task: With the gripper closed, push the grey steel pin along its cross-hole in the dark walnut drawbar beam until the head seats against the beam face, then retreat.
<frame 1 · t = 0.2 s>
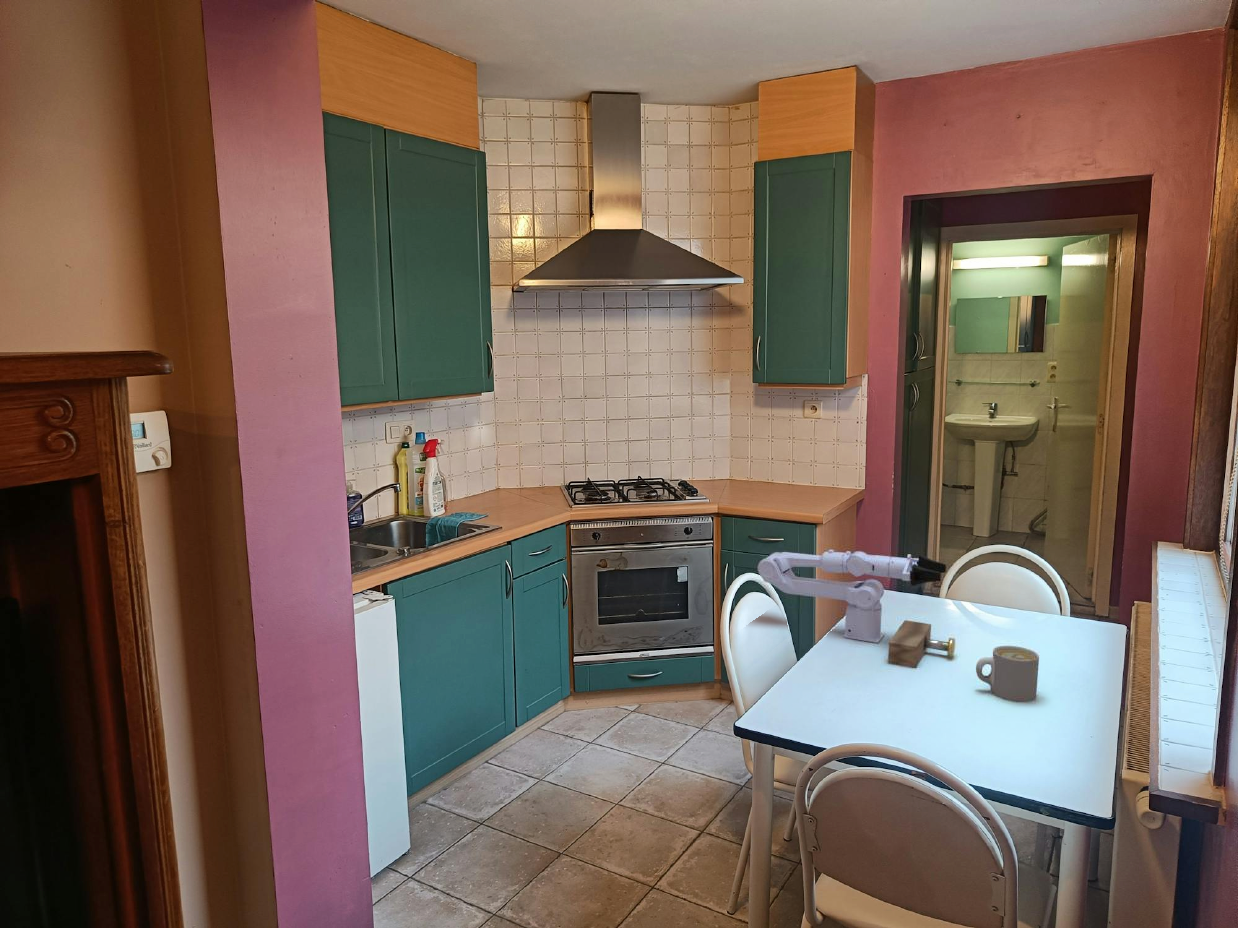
hand: (943, 572, 232), 21 cm above the table, tool horizontal, fingers open, 7 cm apart
drawbar beam: (909, 652, 232), on the table
coffee mug: (1005, 692, 207), on the table
steel pin: (935, 644, 230), point 3 cm above the table, slide at 0.0 cm
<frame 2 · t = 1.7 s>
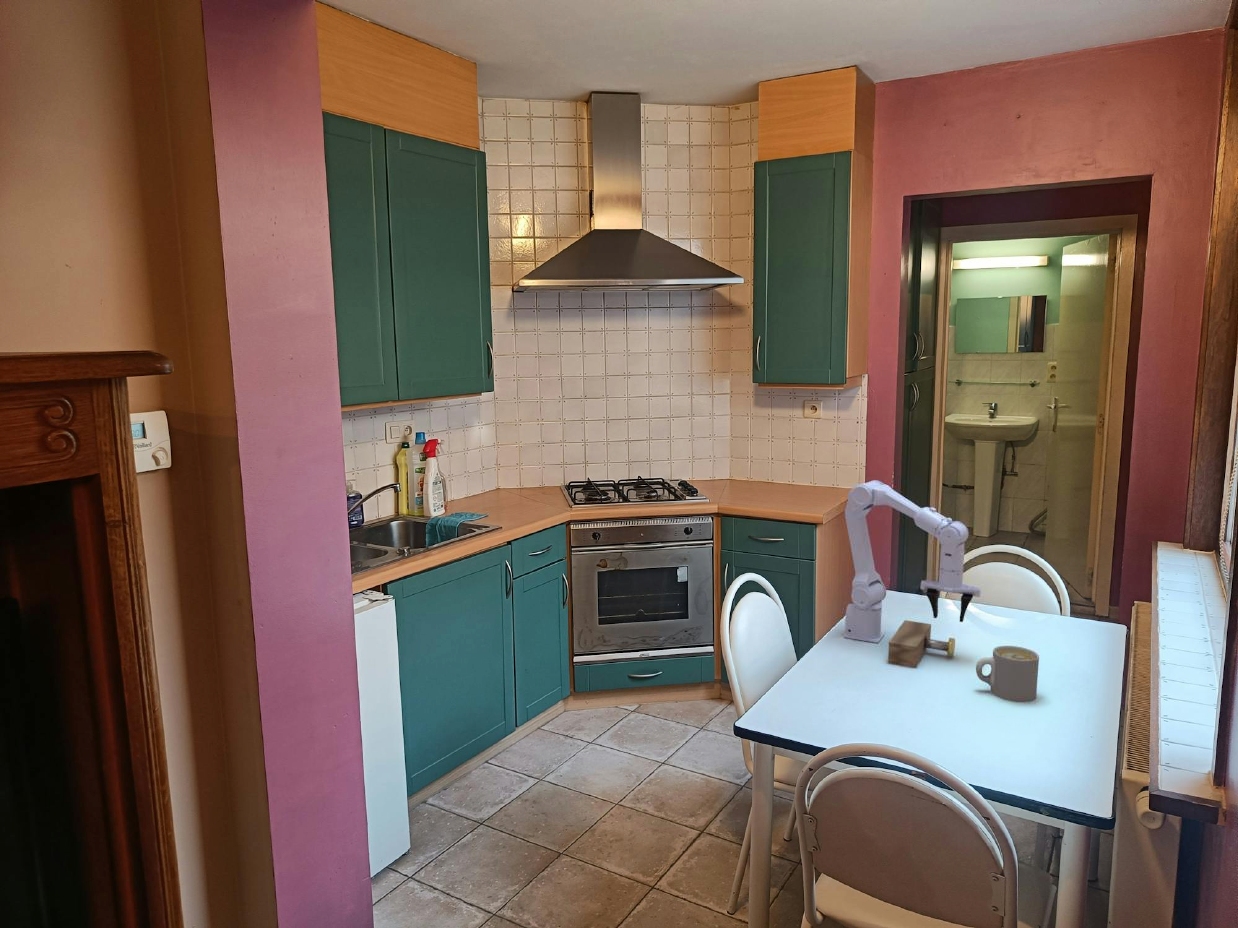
hand: (948, 618, 228), 10 cm above the table, tool pointing down, fingers open, 6 cm apart
nothing on the table moved.
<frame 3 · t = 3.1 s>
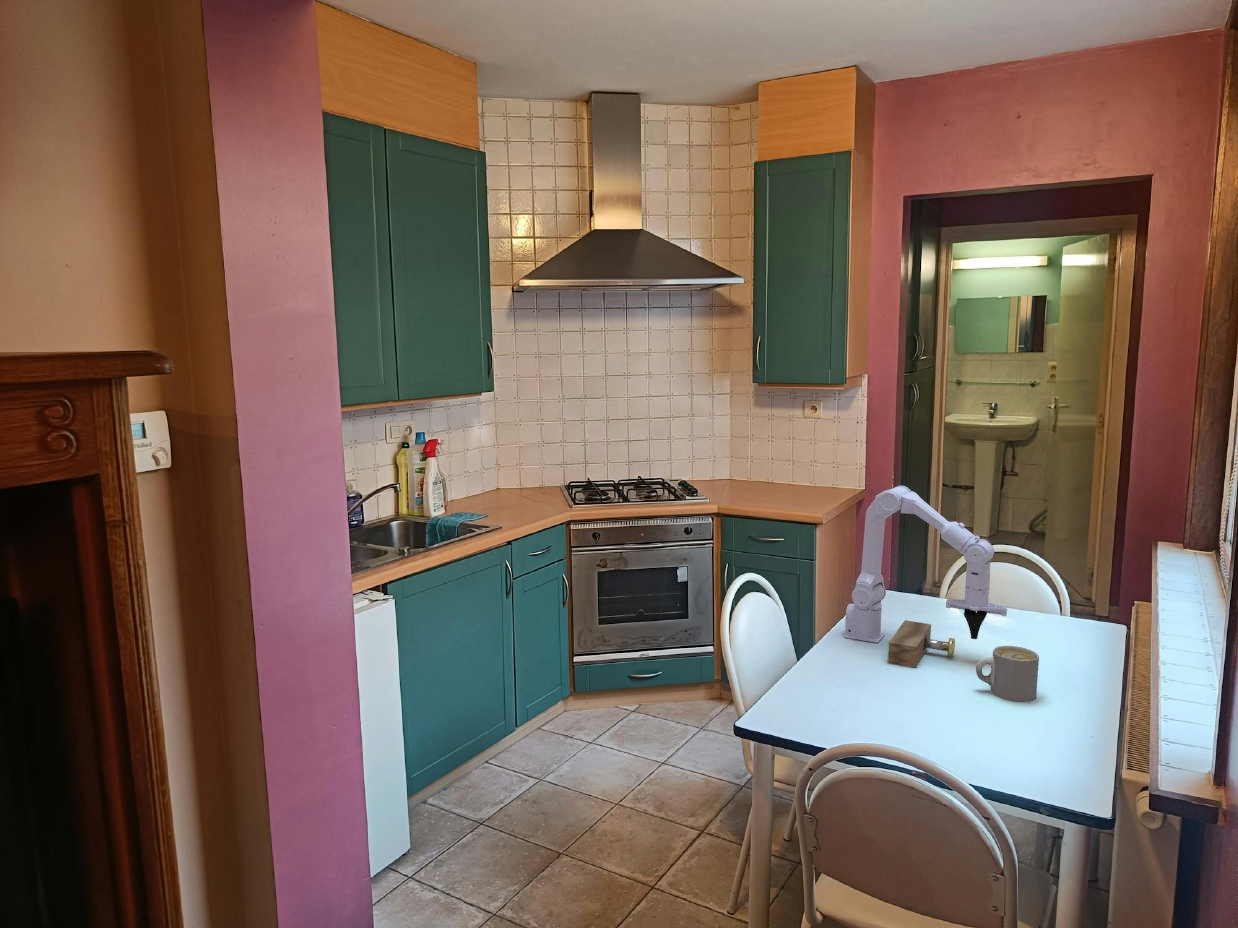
hand: (974, 637, 225), 6 cm above the table, tool pointing down, fingers closed
nothing on the table moved.
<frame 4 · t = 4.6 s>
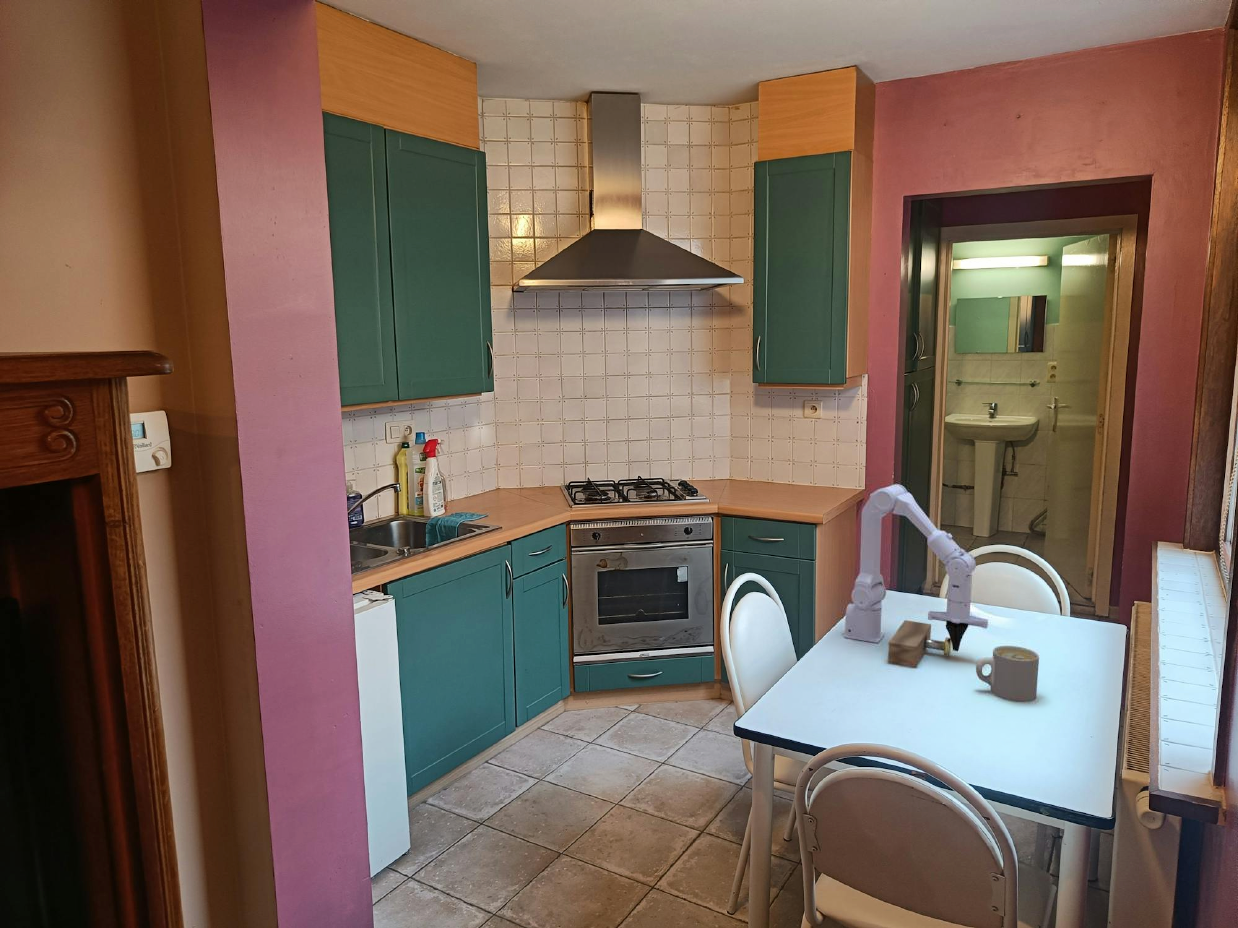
hand: (955, 649, 228), 2 cm above the table, tool pointing down, fingers closed
steel pin: (931, 644, 231), point 3 cm above the table, slide at 0.9 cm, touching gripper
everything else where it was.
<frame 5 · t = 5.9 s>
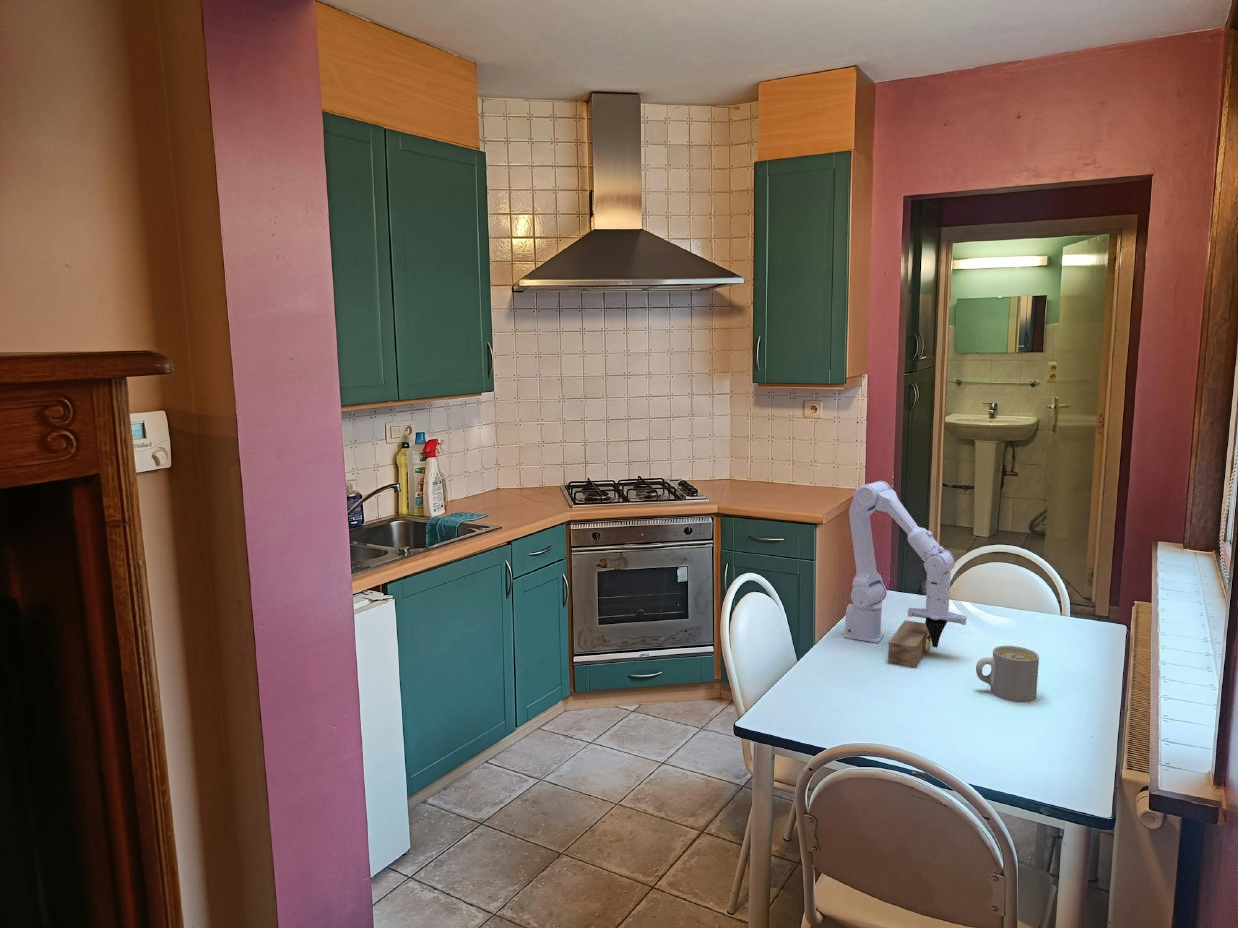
hand: (935, 645, 230), 2 cm above the table, tool pointing down, fingers closed
steel pin: (912, 640, 233), point 3 cm above the table, slide at 6.0 cm, touching drawbar beam, gripper
everything else where it was.
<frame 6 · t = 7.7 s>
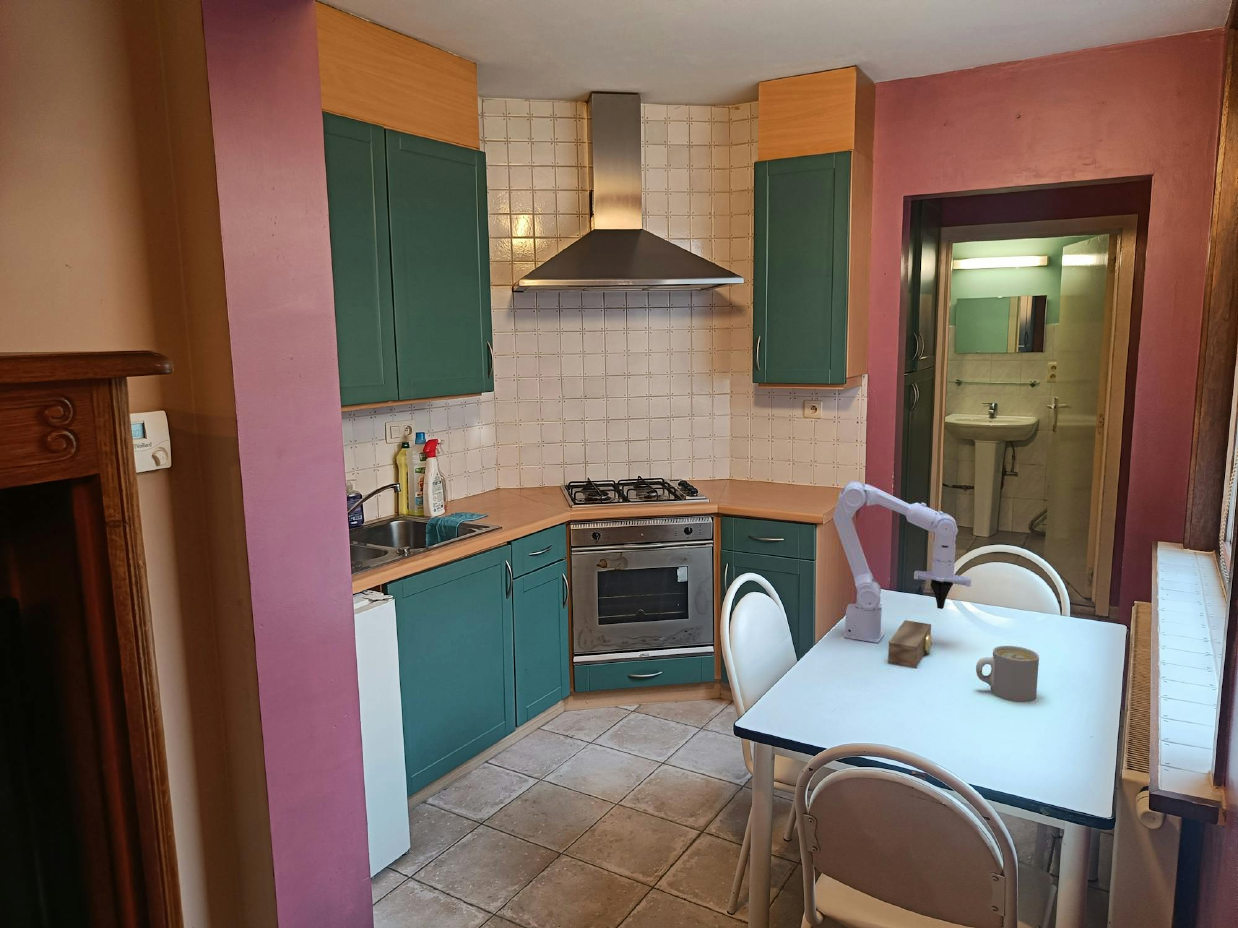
hand: (940, 607, 237), 10 cm above the table, tool pointing down, fingers closed
steel pin: (912, 640, 233), point 3 cm above the table, slide at 6.0 cm, touching drawbar beam
everything else where it was.
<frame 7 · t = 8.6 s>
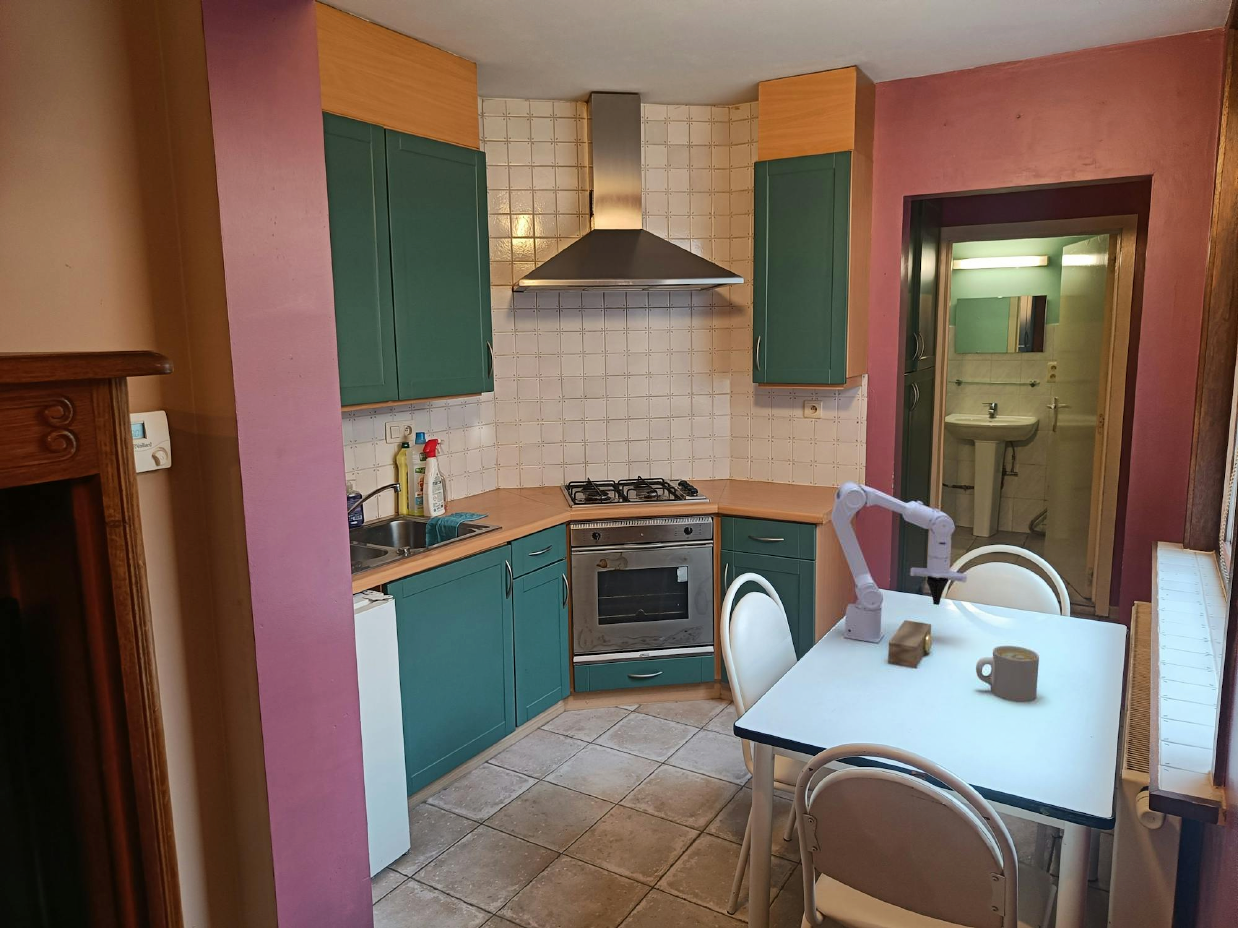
hand: (936, 603, 241), 10 cm above the table, tool pointing down, fingers closed
nothing on the table moved.
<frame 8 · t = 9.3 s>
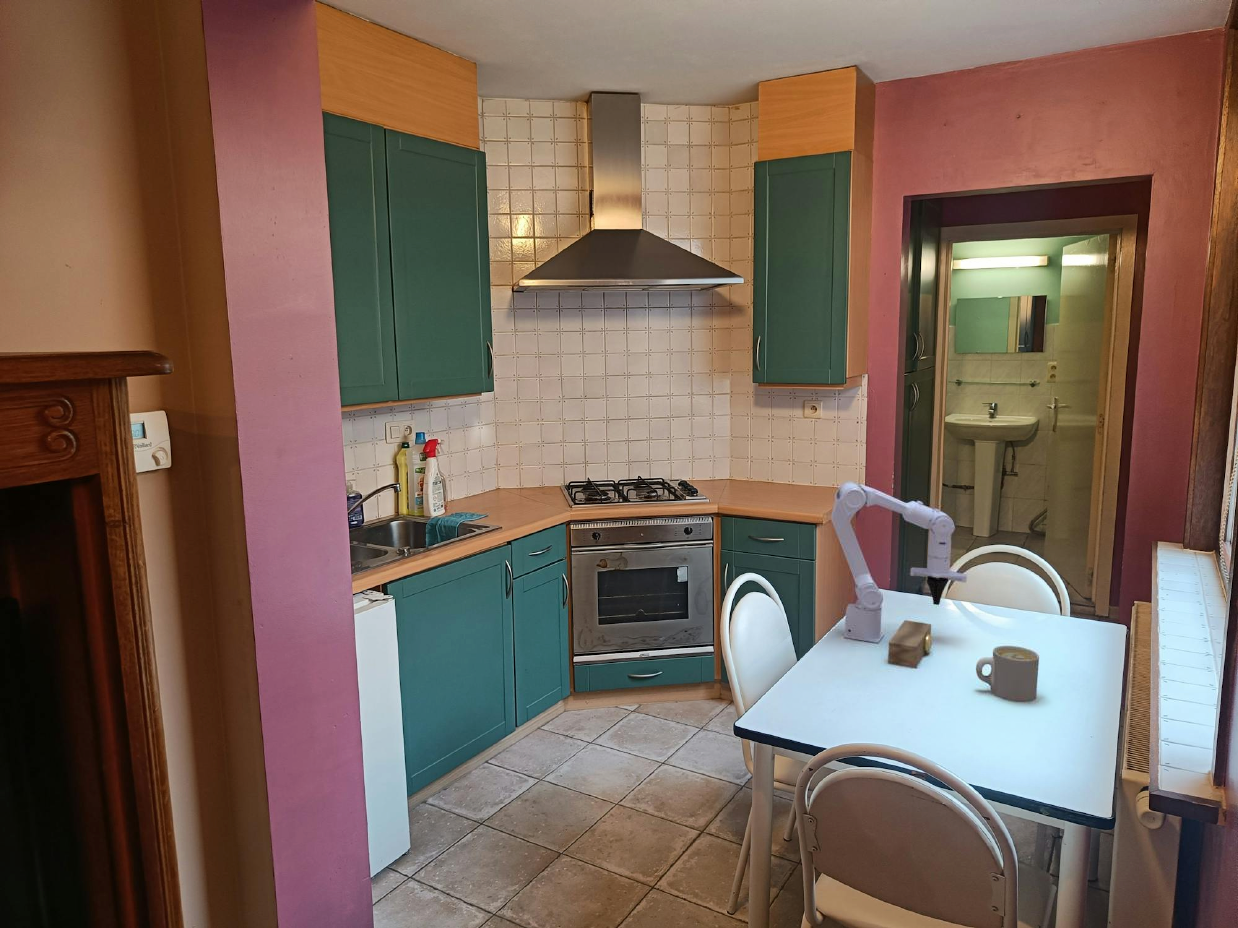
hand: (936, 603, 241), 10 cm above the table, tool pointing down, fingers closed
nothing on the table moved.
at the end: steel pin slide at 6.0 cm; steel pin 5.1 cm from the drawbar beam (horizontally) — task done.
